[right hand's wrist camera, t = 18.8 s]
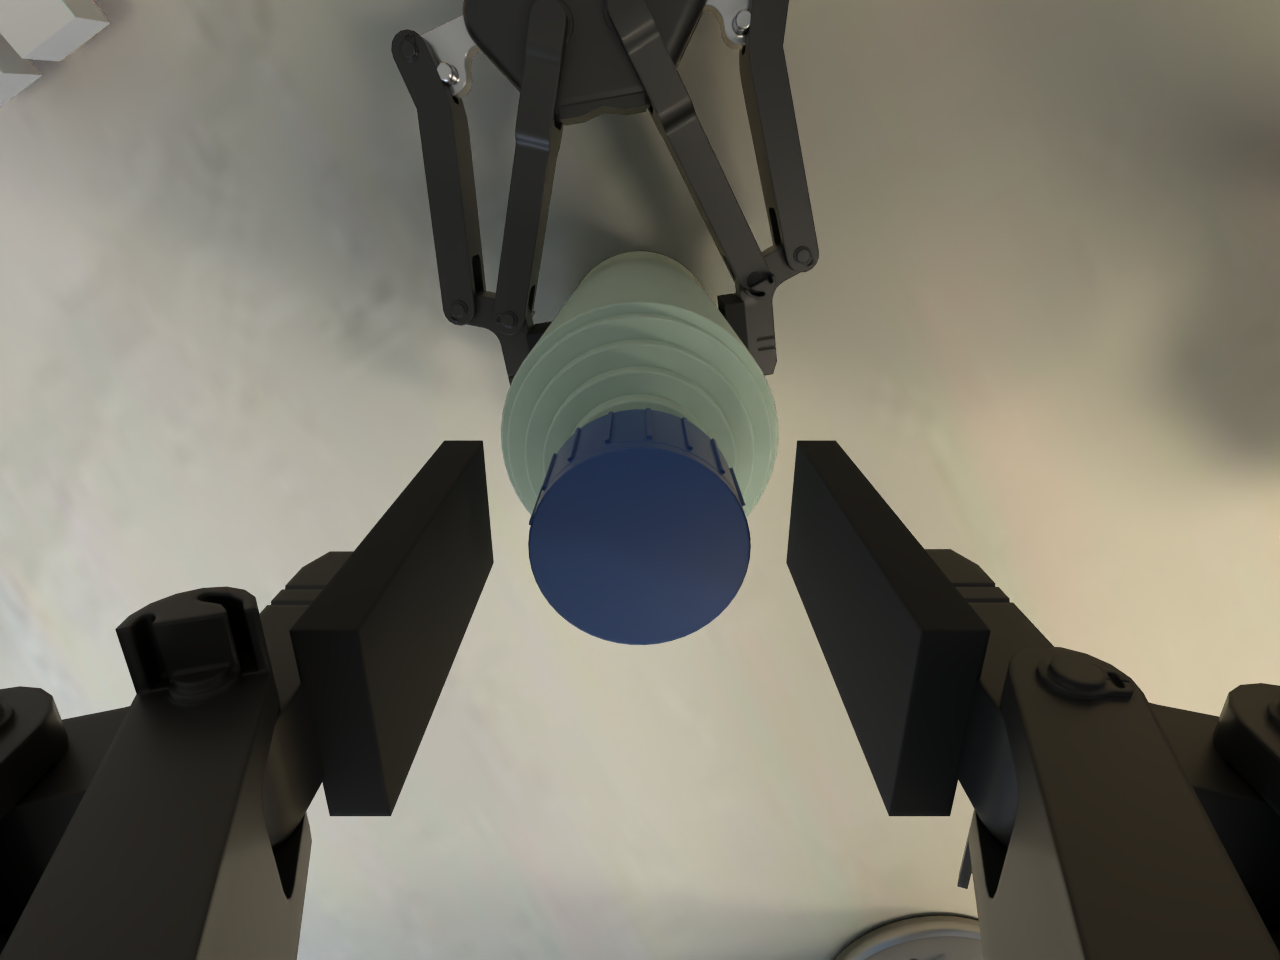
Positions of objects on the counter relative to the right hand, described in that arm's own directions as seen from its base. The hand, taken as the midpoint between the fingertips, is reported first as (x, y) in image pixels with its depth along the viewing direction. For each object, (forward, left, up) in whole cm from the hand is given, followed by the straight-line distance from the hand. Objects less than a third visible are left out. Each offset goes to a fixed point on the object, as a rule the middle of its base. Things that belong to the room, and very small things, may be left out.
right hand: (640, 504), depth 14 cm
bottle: (0, 0, -22) cm, 22 cm away
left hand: (-3, +4, -16) cm, 16 cm away
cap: (0, 0, +2) cm, 2 cm away
